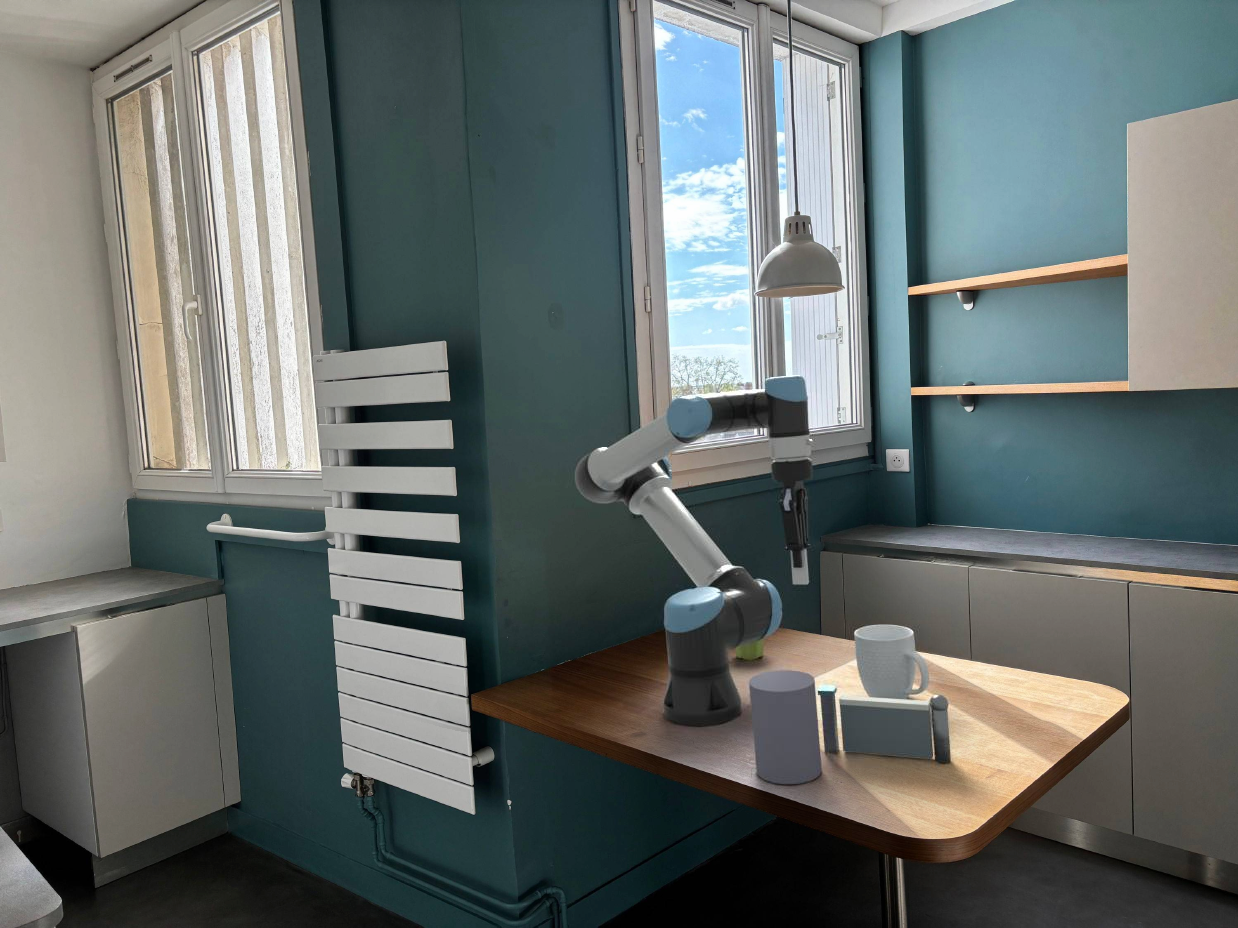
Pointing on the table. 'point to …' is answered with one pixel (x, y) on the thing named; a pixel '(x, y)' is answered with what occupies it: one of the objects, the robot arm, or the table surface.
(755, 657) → the plant pot
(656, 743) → the table surface
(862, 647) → the mug
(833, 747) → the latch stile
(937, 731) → the hinge post
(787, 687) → the container
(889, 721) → the grey flat board
